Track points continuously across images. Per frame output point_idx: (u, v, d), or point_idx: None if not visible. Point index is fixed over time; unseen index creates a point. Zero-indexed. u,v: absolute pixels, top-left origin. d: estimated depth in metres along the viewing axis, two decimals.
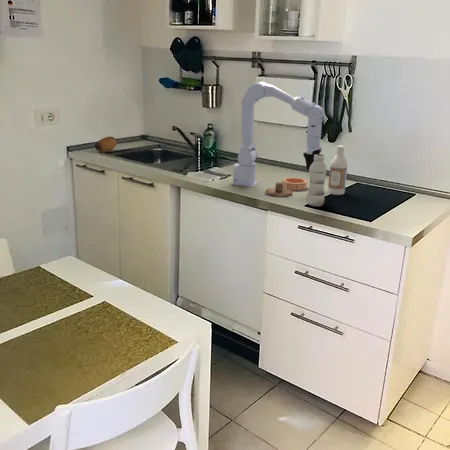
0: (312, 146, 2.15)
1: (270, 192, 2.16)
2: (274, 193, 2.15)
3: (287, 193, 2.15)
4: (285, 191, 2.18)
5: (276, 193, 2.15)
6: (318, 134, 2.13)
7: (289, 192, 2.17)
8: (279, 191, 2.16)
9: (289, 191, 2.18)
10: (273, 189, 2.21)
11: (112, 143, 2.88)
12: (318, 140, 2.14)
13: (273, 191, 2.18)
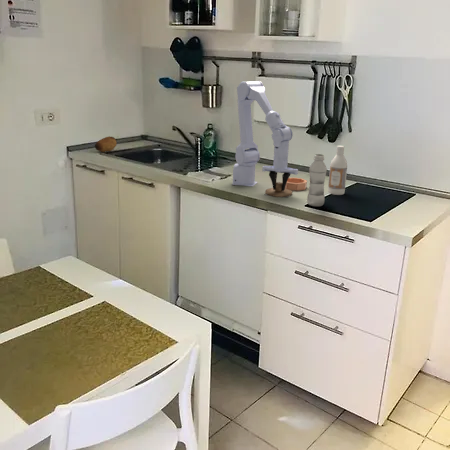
0: (273, 166, 2.15)
1: (270, 192, 2.16)
2: (274, 193, 2.15)
3: (287, 193, 2.15)
4: (285, 191, 2.18)
5: (276, 193, 2.15)
6: (281, 156, 2.10)
7: (289, 192, 2.17)
8: (279, 191, 2.16)
9: (289, 191, 2.18)
10: None
11: (112, 143, 2.88)
12: (275, 161, 2.12)
13: (273, 191, 2.18)
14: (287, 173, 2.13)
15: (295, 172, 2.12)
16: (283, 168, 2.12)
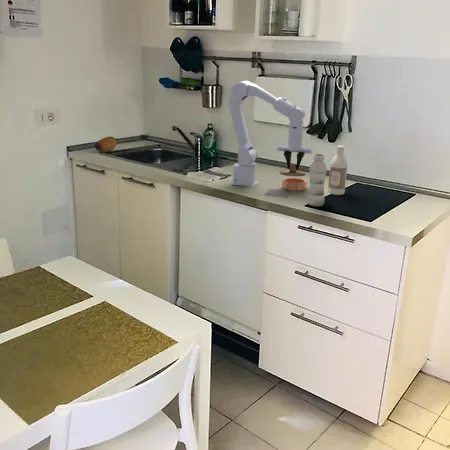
0: (288, 146, 2.21)
1: (284, 172, 2.21)
2: (288, 173, 2.20)
3: (301, 173, 2.20)
4: (299, 172, 2.23)
5: (290, 173, 2.20)
6: (299, 135, 2.16)
7: (303, 173, 2.22)
8: (293, 171, 2.22)
9: (303, 172, 2.23)
10: (287, 170, 2.26)
11: (112, 143, 2.88)
12: (290, 141, 2.18)
13: (287, 172, 2.23)
14: (301, 152, 2.19)
15: (309, 151, 2.18)
16: (297, 147, 2.18)
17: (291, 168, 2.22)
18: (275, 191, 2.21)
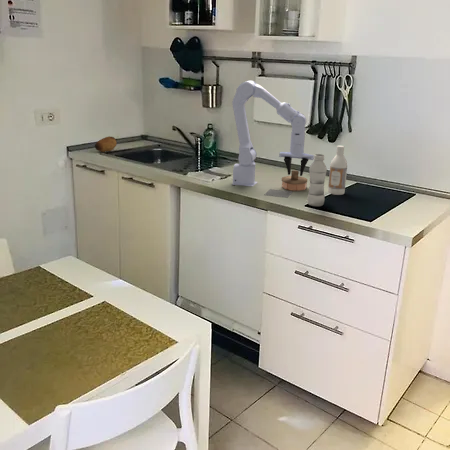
0: (290, 152, 2.23)
1: (286, 179, 2.24)
2: (290, 180, 2.23)
3: (302, 181, 2.23)
4: (301, 179, 2.26)
5: (292, 180, 2.23)
6: (302, 142, 2.19)
7: (304, 180, 2.25)
8: (295, 179, 2.24)
9: (304, 179, 2.26)
10: (289, 177, 2.29)
11: (112, 143, 2.88)
12: (292, 147, 2.20)
13: (289, 179, 2.26)
14: (303, 158, 2.22)
15: (311, 157, 2.20)
16: (300, 154, 2.20)
17: (293, 175, 2.24)
18: (275, 191, 2.21)
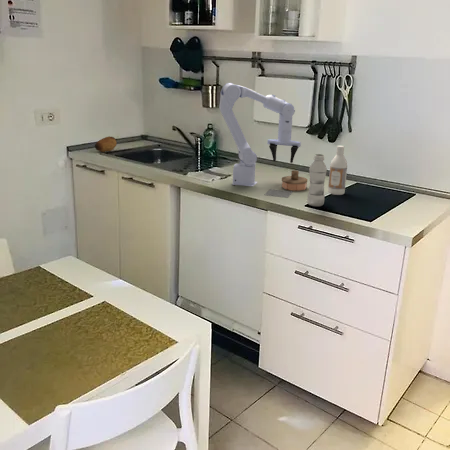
0: None
1: (286, 179, 2.24)
2: (290, 180, 2.23)
3: (302, 181, 2.23)
4: (301, 179, 2.26)
5: (292, 180, 2.23)
6: (291, 129, 2.26)
7: (304, 180, 2.25)
8: (295, 179, 2.24)
9: (304, 179, 2.26)
10: (289, 177, 2.29)
11: (112, 143, 2.88)
12: (279, 134, 2.26)
13: (289, 179, 2.26)
14: (291, 145, 2.28)
15: (298, 144, 2.26)
16: (287, 141, 2.26)
17: (293, 175, 2.24)
18: (275, 191, 2.21)
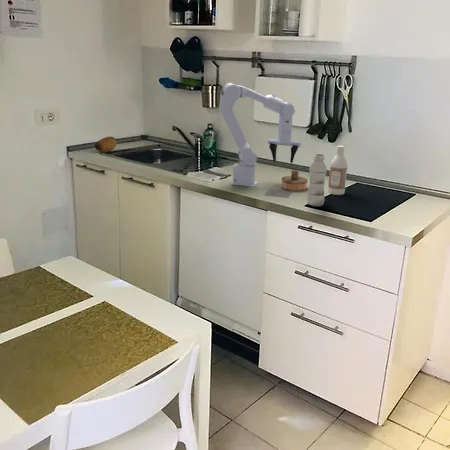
0: None
1: (286, 179, 2.24)
2: (290, 180, 2.23)
3: (302, 181, 2.23)
4: (301, 179, 2.26)
5: (292, 180, 2.23)
6: (291, 129, 2.26)
7: (304, 180, 2.25)
8: (295, 179, 2.24)
9: (304, 179, 2.26)
10: (289, 177, 2.29)
11: (112, 143, 2.88)
12: (279, 134, 2.26)
13: (289, 179, 2.26)
14: (291, 145, 2.28)
15: (298, 144, 2.26)
16: (287, 141, 2.26)
17: (293, 175, 2.24)
18: (275, 191, 2.21)
